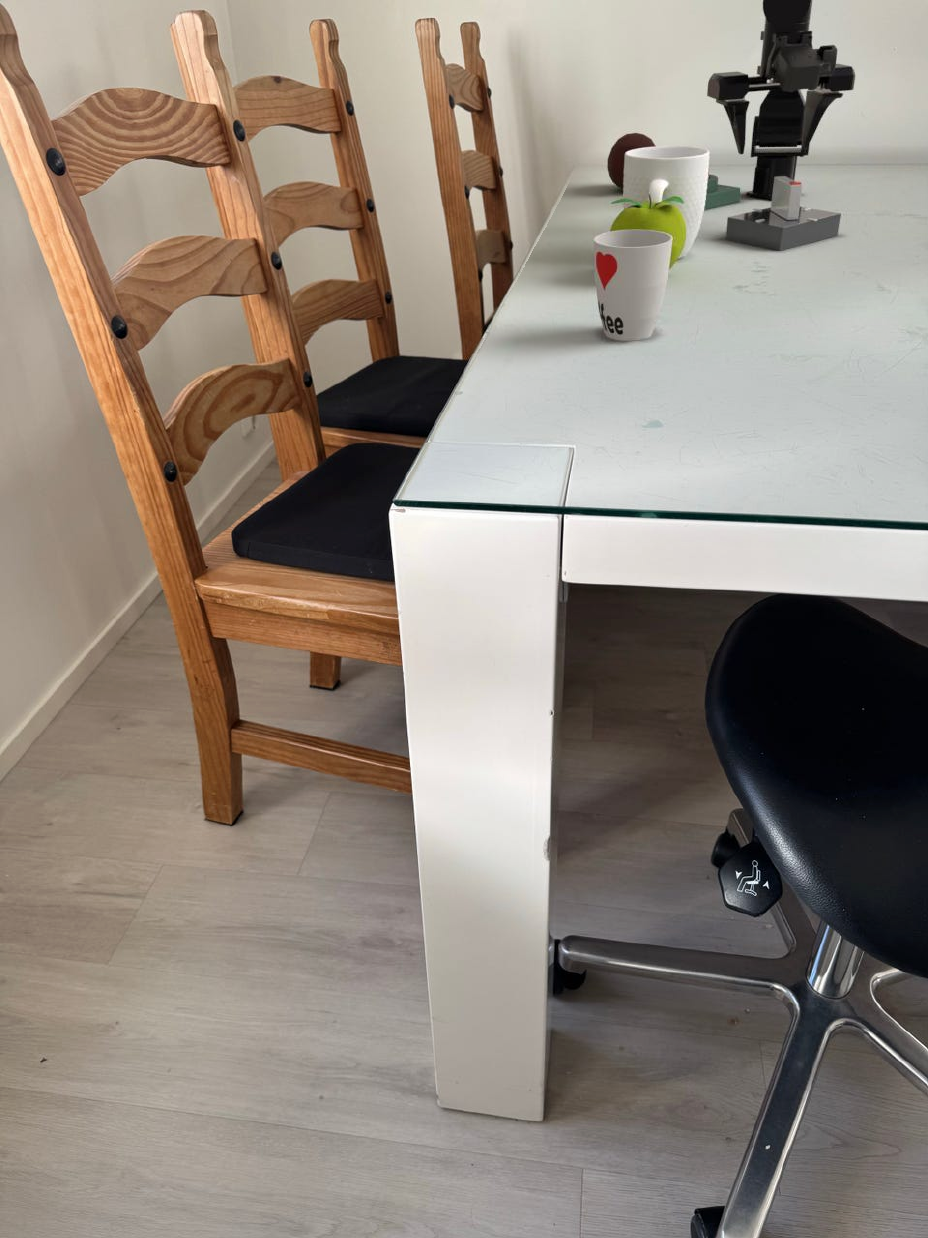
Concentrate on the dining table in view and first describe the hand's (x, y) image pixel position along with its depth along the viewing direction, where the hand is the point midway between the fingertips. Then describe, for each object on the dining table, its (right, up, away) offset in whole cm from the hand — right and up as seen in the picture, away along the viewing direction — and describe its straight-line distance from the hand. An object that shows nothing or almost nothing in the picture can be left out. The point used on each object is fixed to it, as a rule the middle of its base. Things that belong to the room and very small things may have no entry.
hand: (772, 151), depth 137 cm
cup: (-26, -35, -31) cm, 53 cm away
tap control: (-5, +3, +24) cm, 25 cm away
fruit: (-20, -22, -12) cm, 32 cm away
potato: (-14, +10, +36) cm, 40 cm away
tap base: (+2, -12, +2) cm, 12 cm away
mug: (-17, -17, -4) cm, 24 cm away
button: (-5, +6, +22) cm, 23 cm away
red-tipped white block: (+2, -9, 0) cm, 9 cm away
